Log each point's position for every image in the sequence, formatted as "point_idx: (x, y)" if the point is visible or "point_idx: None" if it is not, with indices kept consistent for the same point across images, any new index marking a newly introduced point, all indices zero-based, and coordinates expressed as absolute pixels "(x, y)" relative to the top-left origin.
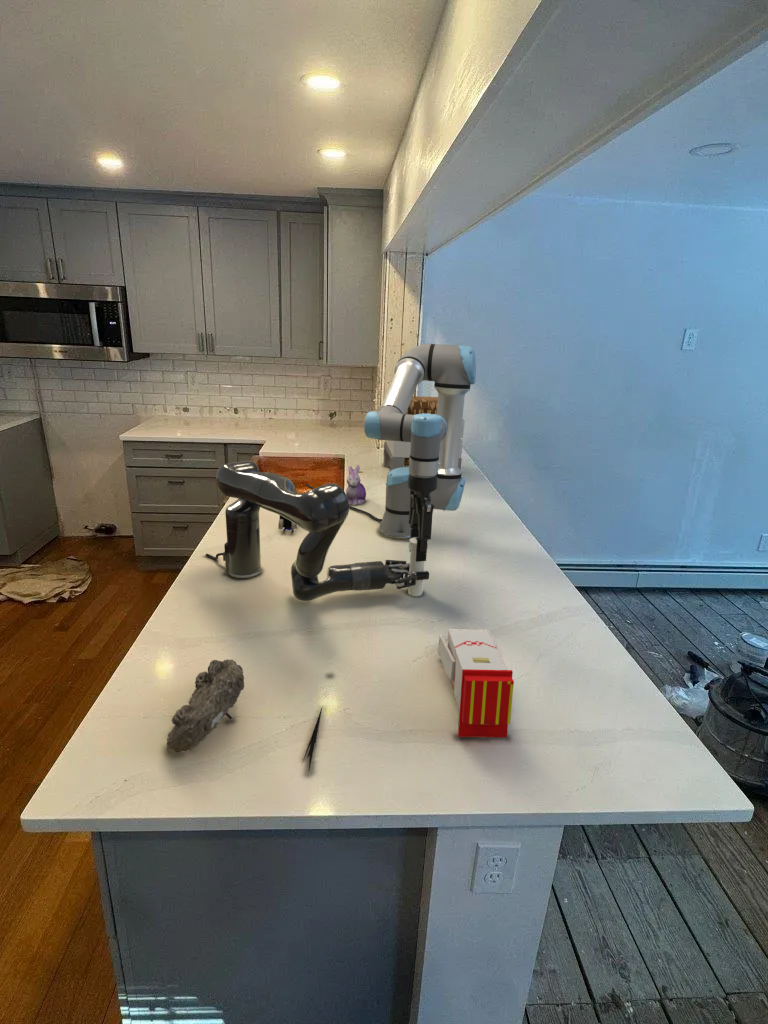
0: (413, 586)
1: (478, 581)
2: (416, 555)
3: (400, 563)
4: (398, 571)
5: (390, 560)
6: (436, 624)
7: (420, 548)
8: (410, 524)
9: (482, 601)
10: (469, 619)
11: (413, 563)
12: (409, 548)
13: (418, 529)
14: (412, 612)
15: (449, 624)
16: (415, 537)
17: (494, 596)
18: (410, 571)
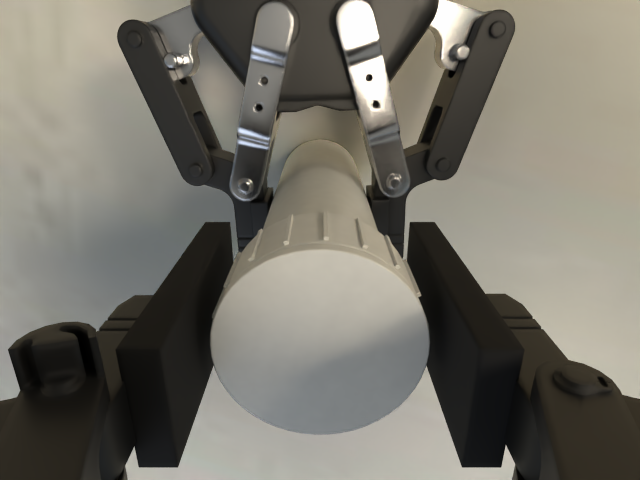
0: (285, 168)
1: (376, 459)
2: (203, 242)
3: (395, 120)
4: (251, 62)
5: (495, 58)
6: (11, 188)
7: (139, 310)
8: (622, 401)
9: (209, 420)
10: None
11: (279, 203)
12: (324, 213)
13: (493, 445)
14: (120, 106)
15: (16, 243)
16: (419, 340)
17: (245, 469)
18: (304, 171)
